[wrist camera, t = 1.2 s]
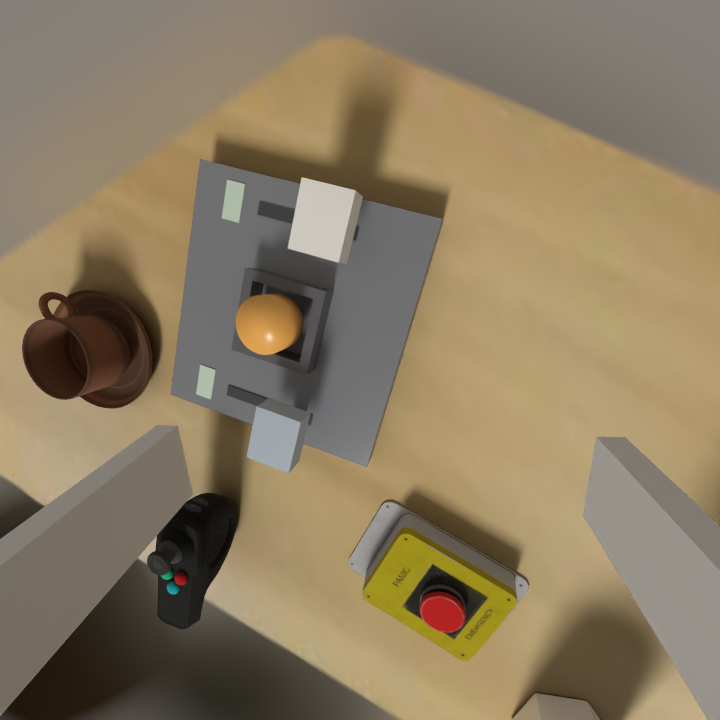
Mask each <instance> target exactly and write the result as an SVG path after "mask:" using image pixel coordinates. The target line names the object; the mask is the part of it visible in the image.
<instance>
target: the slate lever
mask: <svg viewBox="0 0 720 720" xmlns="http://www.w3.org/2000/svg"><path fill="white" fill-rule="evenodd" d="M309 418H310V412H307V411H304V410H302V409H299V408H296V407H293V406H290V405H287V404H285V403H282V402H279V401H276V400H273V399H271V398H268V399H267V400H265V401H264V402H262V403H261V404H259V405H258V406H256V412H255V417H254V422H253V427H252V432H251V437H250V442H249V447H248V452H247V458H250V459H253V460H255V461H258V462H260V463H263V464H265V465H268V466H271V467H273V468H276V469H278V470H281V471H284V472H286V473H290V471H291V470H292V469H293V468H294V466H295V465H296V464H297V463H298V462H299V459H300V455H301V450H302V446H303V442H304V438H305V434H306V430H307V426H308V422H309Z"/></svg>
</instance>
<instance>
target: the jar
mask: <svg viewBox="0 0 720 720" xmlns="http://www.w3.org/2000/svg"><path fill="white" fill-rule="evenodd" d="M512 720H600V718H599V717H598V716H597V714H596V713H595V711H594V710H593V708H592V707H591V706H590V704H589V703H588V702H587V701H584V700H578V699H572V698H565V697H559V696H552V695H546V694H540V693H535V694H534V695H533V696H532V697H531V698H530V699H529V700H528V701H527V703H526V704H525V705H524V706H523V707H522V708H521V709H520V711H519V712H518V713H517V714H516V715H515V716H514V717H513V719H512Z"/></svg>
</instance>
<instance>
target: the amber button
mask: <svg viewBox="0 0 720 720" xmlns="http://www.w3.org/2000/svg"><path fill="white" fill-rule="evenodd" d="M236 330H237V333H238V336H239V338H240V340H241V341H242V343H243V344H244V345H245V346H246V347H247V348H248V349H249V350H251V351H253V352H255V353H257V354H261V355H271V354H274V353H277V352H279V351H281V350H283V349H286V348H288V347H290V346H292V345H293V344H295V343H296V342H297V341H298V339H299V338H300V336H301V334H302V330H303V317H302V313H301V311H300V309H299V307H298V306H297V304H296V303H295V302H294V301H293V300H292V299H290V298H289V297H287V296H285V295H282V294H265V295H256V296H252V297H250V298H248V299H247V300H245V301H244V302H243V303H242V304H241V306H240V307H239V309H238V312H237V315H236Z"/></svg>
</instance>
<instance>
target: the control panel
mask: <svg viewBox="0 0 720 720" xmlns="http://www.w3.org/2000/svg"><path fill="white" fill-rule="evenodd" d="M299 188H300V184H299V183H295V182H291V181H287V180H283V179H279V178H275V177H271V176H267V175H263V174H259V173H255V172H250V171H246V170H242V169H238V168H234V167H230V166H226V165H222V164H218V163H214V162H210V161H206V160H202V159H200V165H199V173H198V181H197V189H196V197H195V205H194V213H193V221H192V229H191V237H190V245H189V253H188V261H187V269H186V277H185V285H184V293H183V301H182V309H181V317H180V325H179V333H178V341H177V349H176V357H175V365H174V373H173V381H172V389H171V395H174V396H176V397H179V398H182V399H185V400H187V401H190V402H193V403H195V404H198V405H201V406H203V407H206V408H209V409H211V410H214V411H217V412H220V413H222V414H225V415H228V416H230V417H233V418H236V419H238V420H241V421H244V422H247V423H249V424H252V425H253V422H254V417H255V412H256V406H258V405H259V404H261V403H262V402H264V401H265V400H267V399H268V398H271V399H273V400H276V401H279V402H282V403H285V404H287V405H290V406H293V407H296V408H299V409H302V410H304V411H307V412H310V418H309V422H308V426H307V430H306V434H305V438H304V442H303V444H306V445H308V446H311V447H314V448H317V449H319V450H322V451H325V452H327V453H330V454H333V455H335V456H338V457H341V458H343V459H346V460H349V461H352V462H354V463H357V464H360V465H362V466H365V467H367V466H368V463H369V461H370V459H371V456H372V453H373V450H374V447H375V443H376V440H377V437H378V433H379V430H380V427H381V424H382V420H383V417H384V414H385V411H386V407H387V404H388V401H389V397H390V394H391V391H392V388H393V384H394V381H395V378H396V374H397V371H398V368H399V365H400V361H401V358H402V355H403V351H404V348H405V345H406V342H407V338H408V335H409V332H410V328H411V325H412V322H413V319H414V315H415V312H416V309H417V305H418V302H419V299H420V296H421V292H422V289H423V286H424V282H425V279H426V276H427V273H428V269H429V266H430V263H431V260H432V256H433V253H434V250H435V246H436V243H437V240H438V237H439V233H440V230H441V227H442V223H443V221H442V219H441V218H437V217H433V216H429V215H425V214H421V213H417V212H413V211H409V210H405V209H401V208H397V207H392V206H388V205H384V204H380V203H376V202H372V201H368V200H364V199H362V204H361V208H360V212H359V216H358V220H357V224H356V228H355V232H354V236H353V241H352V245H351V249H350V253H349V257H348V261H347V264H345V263H338V262H334V261H331V260H327V259H324V258H320V257H316V256H313V255H309V254H306V253H302V252H298V251H295V250H291V249H288V244H289V239H290V234H291V229H292V224H293V219H294V214H295V208H296V203H297V198H298V193H299ZM265 294H282V295H285V296H287V297H289V298H290V299H292V300H293V301H294V302H295V303H296V304H297V306H298V307H299V309H300V311H301V313H302V317H303V330H302V334H301V336H300V338H299V339H298V341H297V342H296V343H295V344H293V345H292V346H290V347H288V348H286V349H283V350H281V351H279V352H277V353H274V354H271V355H261V354H257V353H255V352H253V351H251V350H249V349H248V348H247V347H246V346H245V345H244V344H243V343H242V341H241V340H240V338H239V336H238V333H237V330H236V315H237V312H238V309H239V307H240V306H241V304H242V303H243V302H244V301H245V300H247V299H248V298H250V297H252V296H256V295H265Z"/></svg>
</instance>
